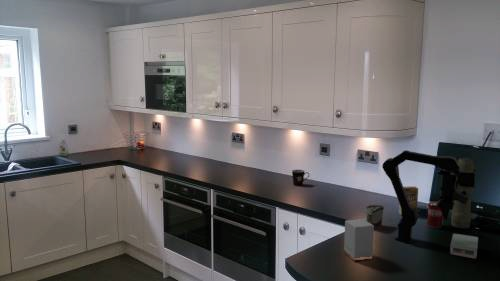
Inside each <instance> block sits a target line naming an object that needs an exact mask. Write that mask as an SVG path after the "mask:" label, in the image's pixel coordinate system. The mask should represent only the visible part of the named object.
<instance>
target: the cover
mask: <svg viewBox="0 0 500 281" xmlns="http://www.w3.org/2000/svg"><path fill="white" fill-rule="evenodd" d="M478 244H479V237H478V236H473V235H466V234H459V233H453V234H452V238H451V241H450V248H451V247H452V248H458V249H464V250H471V251H477V252H478V246H477V245H478Z"/></svg>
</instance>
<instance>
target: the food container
mask: <svg viewBox="0 0 500 281" xmlns="http://www.w3.org/2000/svg"><path fill="white" fill-rule="evenodd" d="M384 210H385V207H384V205H381V204H380V205H379V204H372V205H367V206H366V207H365V210H364V213H365V214H366V221H367V222H369V223H370V224H372V225H374V228H375V229H377V228H379V227H380V226H382V225H383V224H382V223H383V214H384Z"/></svg>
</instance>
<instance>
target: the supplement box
mask: <svg viewBox="0 0 500 281" xmlns="http://www.w3.org/2000/svg"><path fill="white" fill-rule="evenodd" d="M374 230H375V229H374V225H372V224H370V223H369V222H367V220H365V219H364V218H358V219H348V220H345V221H344V240H343V247H344V248H343V251H344V250H345V251H346V252H347V253H348V254H350V255H351V256H352V257H354V258H360V257H370V256H372V257H373V252H374V251H373V250H374V248H373V247H374V234H375V233H374Z"/></svg>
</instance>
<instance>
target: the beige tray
mask: <svg viewBox="0 0 500 281" xmlns="http://www.w3.org/2000/svg"><path fill="white" fill-rule="evenodd" d="M477 247H478V245H477ZM449 249H450V250H449V254H450V255H453V256H454V255H455V256H459V257H463V258H464V257H465V258H469V259H470V258H471V259H475V260H476V259H477V254H478V250H477V251H471V250H464V249H458V248H452V247H451V246H450V248H449Z"/></svg>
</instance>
